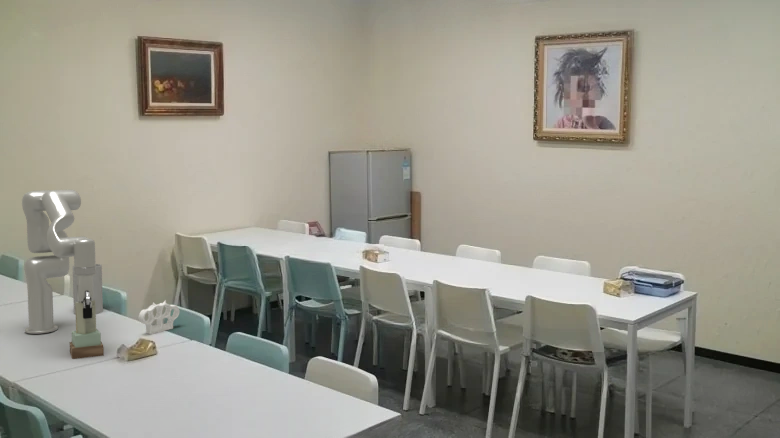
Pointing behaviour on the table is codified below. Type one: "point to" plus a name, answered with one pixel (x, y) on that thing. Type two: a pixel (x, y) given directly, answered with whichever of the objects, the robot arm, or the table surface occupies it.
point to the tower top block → (86, 339)
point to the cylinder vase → (96, 289)
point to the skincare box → (85, 324)
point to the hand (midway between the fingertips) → (86, 315)
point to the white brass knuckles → (159, 317)
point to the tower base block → (86, 351)
